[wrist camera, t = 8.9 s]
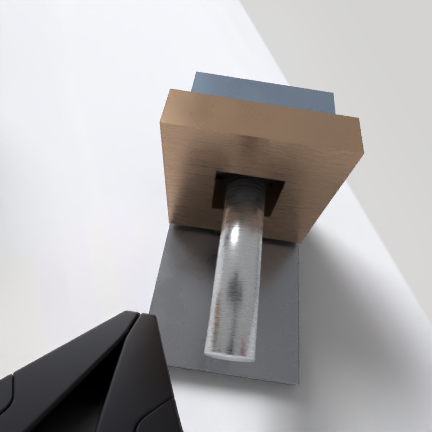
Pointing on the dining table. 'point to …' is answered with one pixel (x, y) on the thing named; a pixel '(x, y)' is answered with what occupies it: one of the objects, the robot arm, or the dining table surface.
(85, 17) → the dining table surface
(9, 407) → the robot arm
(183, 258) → the stand
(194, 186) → the wooden block on rod
